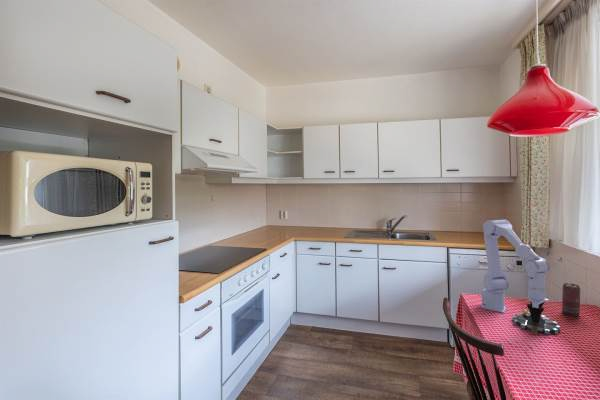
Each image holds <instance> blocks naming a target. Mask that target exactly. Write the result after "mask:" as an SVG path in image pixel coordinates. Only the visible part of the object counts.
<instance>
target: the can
mask: <svg viewBox="0 0 600 400" xmlns="http://www.w3.org/2000/svg"><path fill="white" fill-rule="evenodd" d="M561 298H562V300H561V301H562V302H561V304H562V305H561V306H562V307H561V312H562V314H563V315H565V316H568V317H574V318H577V317H579V316H580V310H581V287H580V285H579V284H575V283H570V282H567V283H566V282H565V283H563V284H562V296H561Z"/></svg>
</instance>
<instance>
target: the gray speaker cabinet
mask: <svg viewBox="0 0 600 400" xmlns="http://www.w3.org/2000/svg"><path fill="white" fill-rule="evenodd" d="M545 317H546V315H544V314H541V316H540V320H539V323H536V322H532V319H531V314H530V311H528V313H527V325H532V326H536V327H540V328H545Z"/></svg>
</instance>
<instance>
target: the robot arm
mask: <svg viewBox="0 0 600 400" xmlns="http://www.w3.org/2000/svg"><path fill="white" fill-rule="evenodd" d="M482 228H483V238H484V244H485V245H484V247H485V254H486V264H487V271H486V272H485V273H484V275H483V281H482V284H483V287H484V288H482V290H481V309H484V310H489V311H494V312H499V313H505V312H506V309H507V306H505V293H506V292H507V290H508V288H509V286H510V283H509V280H508V278H507V274H506V273H504V272H503V271H502V267H501V259H500V251H499V250H500V249H499V244H498V242H499V241H498V239H499V238H500V237H501V236H502V237H504V238H505V239H506V240H507V241H508V242H509V243H510V244H511V245H512V246H513V247H514V248H515V249H514V250H515V254H516V255H517V256H518V258H520V259H521V261H522V262H523V263H524V268H525V270H526V275H527V281H528V282H527V297H526V299H528V301H529V303H526V308H527V310H528V312H530V314H531V319H532V322H536V323H539V320H540V316H541V315H542V314H543V312H544V310H545V307H543V306H544V304H545V303H549V298H546V274H547V273H548V272H549V271H550V269H551V268H550V264H549V262H548V260H547V259H545V258H542V257H541V256H539V255H538V254H536V252H535V251H534V250H533V249H532V246H531V245H529V244H524V243H523V241H521V238H519V236H518V235H517V234H516V233H515V231H514V230H513V225H512V224H511V223H510V222H509V220H508V219H495V220H492V219H491V220H490V219H488V220H486V221H485V222H484V223H483V225H482Z"/></svg>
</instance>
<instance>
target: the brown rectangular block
mask: <svg viewBox="0 0 600 400" xmlns="http://www.w3.org/2000/svg"><path fill="white" fill-rule="evenodd" d="M537 331H538V328H535V327H531V330H530V334H531V335H534V336H538V332H537Z"/></svg>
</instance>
